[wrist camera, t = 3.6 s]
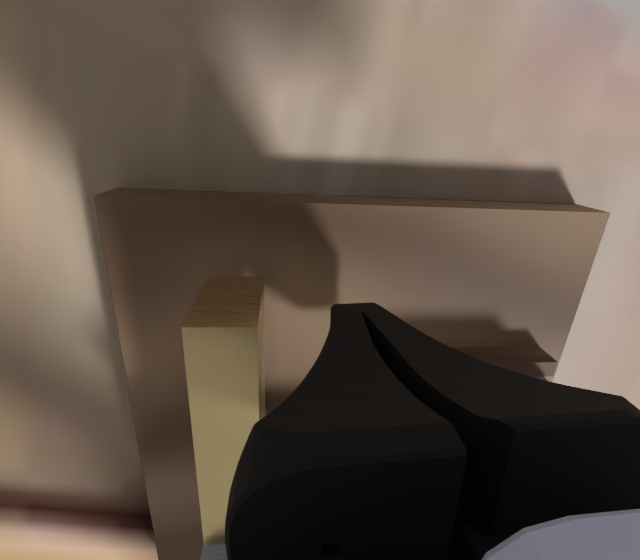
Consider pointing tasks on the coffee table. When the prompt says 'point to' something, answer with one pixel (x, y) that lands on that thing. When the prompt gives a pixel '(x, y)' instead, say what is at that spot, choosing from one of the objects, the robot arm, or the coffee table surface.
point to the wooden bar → (223, 390)
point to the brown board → (326, 295)
